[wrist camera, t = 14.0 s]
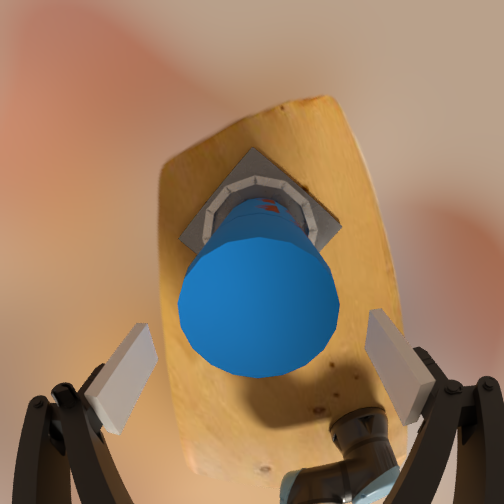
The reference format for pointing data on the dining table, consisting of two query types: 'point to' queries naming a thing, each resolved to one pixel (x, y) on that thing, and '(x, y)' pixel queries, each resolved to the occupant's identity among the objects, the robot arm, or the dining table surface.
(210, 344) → the thermos
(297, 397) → the dining table surface
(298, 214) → the collar dock
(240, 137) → the dining table surface
